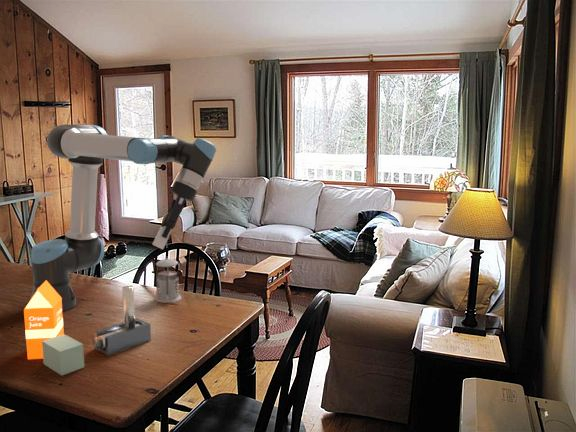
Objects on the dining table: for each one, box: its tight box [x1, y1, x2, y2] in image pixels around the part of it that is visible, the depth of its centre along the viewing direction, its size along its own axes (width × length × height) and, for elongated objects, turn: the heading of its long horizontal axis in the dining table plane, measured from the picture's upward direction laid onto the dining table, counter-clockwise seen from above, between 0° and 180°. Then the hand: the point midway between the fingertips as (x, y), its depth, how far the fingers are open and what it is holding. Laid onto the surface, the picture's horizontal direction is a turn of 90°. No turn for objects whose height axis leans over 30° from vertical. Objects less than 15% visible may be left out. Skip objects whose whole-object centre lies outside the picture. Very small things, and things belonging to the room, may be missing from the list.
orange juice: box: [23, 280, 65, 360], centre depth 143 cm, size 8×9×20 cm
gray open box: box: [93, 317, 152, 357], centre depth 150 cm, size 14×7×5 cm, turn 141°
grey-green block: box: [42, 333, 85, 376], centre depth 136 cm, size 6×10×7 cm, turn 51°
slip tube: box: [92, 285, 140, 351], centre depth 147 cm, size 14×4×16 cm, turn 141°
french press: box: [154, 241, 182, 304], centre depth 188 cm, size 10×12×25 cm
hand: (157, 247), depth 156 cm, fingers open, 13 cm apart
